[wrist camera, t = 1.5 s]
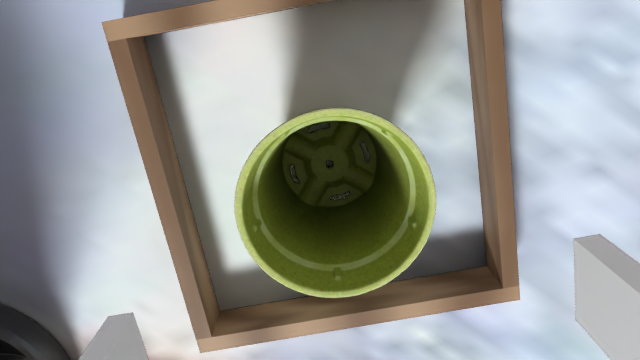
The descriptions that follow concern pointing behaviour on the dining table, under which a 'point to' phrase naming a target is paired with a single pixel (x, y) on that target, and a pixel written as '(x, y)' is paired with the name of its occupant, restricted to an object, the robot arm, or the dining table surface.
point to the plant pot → (335, 203)
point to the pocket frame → (312, 311)
